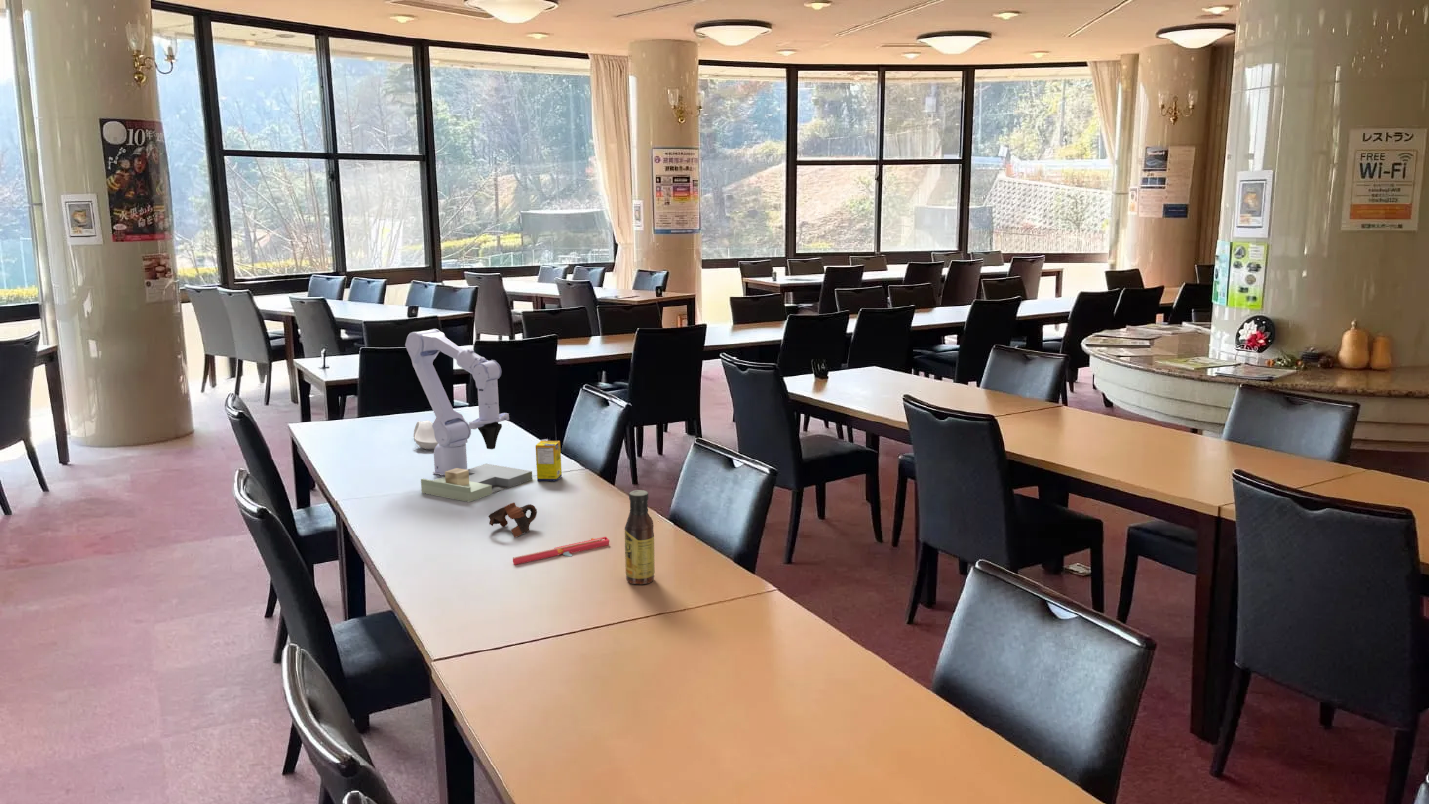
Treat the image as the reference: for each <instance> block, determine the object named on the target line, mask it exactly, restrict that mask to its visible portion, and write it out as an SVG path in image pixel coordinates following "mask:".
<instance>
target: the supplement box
mask: <svg viewBox="0 0 1429 804" xmlns="http://www.w3.org/2000/svg"><path fill="white" fill-rule="evenodd" d="M561 454H562V453H561V441H560V440H541V441H539V442H537V444H536V445H535V460H536V461H535V462H536V477H537V478H536V480H537V482H558V481H559V480H560V478H562V475H563V474H562V455H561Z"/></svg>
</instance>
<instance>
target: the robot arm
mask: <svg viewBox="0 0 1429 804" xmlns="http://www.w3.org/2000/svg"><path fill="white" fill-rule="evenodd" d="M404 346H405V348H406V351H407V352H408V355H409V357H410V359H411V363H412V367H413V368H414V370H415V374H416V376H417V378H418V381H419V382H420V385H421V387H422V389H423V391H424V394H425V395H426V398H427V400H428V402H429V405H430V406H431V409H432V411H433V413H434V416H435V418H434V420H433V422H432V423H433V425H432V427H433V429H434V435H435V439H436V441H437V443H438V445H437V446H436V447H435V449H433V461H434V462H433V463H434V464H433V465H434V471H433V472H432V474H434V475H441V476H445V471H449V470H452V469H455V468H460V469H466V470H468V469H469V468H468V460H467V458H468V457H467V443H468V439H470V437H471V435H472V430H477V429H478V431H479V432H480V434H481V436H482V438H483V441H484V443H485V447H486V449H487V450H495V449H496V447H497V446H496V445H497V440H498V436H499V434H500V432H501V430H502V427H503V425H502V423H500V422H504V421H510V415H509V414H510V413H507V412H502V413H500V406H499V404H500V403H499V387H498V386H499V385H498V379H500V377H501V376H502V368H501V365H500V364H499V363H498V362H497V360H495V359H491V360H488V359H487V358H485V357H484V356H481V355H479V354H478V353H476V352H475V350H474V349H473V348H465V349H463V348H461V347H459V345H457V344H456V343H454V342H453V341H452V340H450V339H448V338H447V336H446V335H445V333H444V332H443V331H440V330H439V329H437V328H431V329H429V330H421V331H412V332H409V334H408V335H407V337H406V340H405V344H404ZM439 353H443V354H444V355H447V356H448V357H450V358H452V359H454V360H455V361H456V365H457V366H458V367H460V368H461V369H462V370H464V371H465V372H468V373H470V374H471V375H472V378H473V380H474V382H475V387H476V389H477V399H478V400H477V403H478V418H476V419H474V420H472V421H469V422H468V421H466V420H465V418H464V416H463V414H462V413H460V412H457V411H456V410H454V408H453V406H452V404H451V402H450V400H449V397H448V395H447V392H446V390H445V389H444V387H443V384H442V381H441V379H440V377H439V375H438V372H437V371H436V368H435V366H434V365H433V362H434V360H435V359H437V356H438V355H439Z"/></svg>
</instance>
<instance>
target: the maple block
mask: <svg viewBox="0 0 1429 804" xmlns="http://www.w3.org/2000/svg"><path fill="white" fill-rule="evenodd" d="M444 477H445V480H446V483H450V484H456V485H461V486H464V485H467V484H469V470H466V469H460V468H455V469H452V470H449V471H445V475H444Z"/></svg>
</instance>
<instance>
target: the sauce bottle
mask: <svg viewBox="0 0 1429 804" xmlns="http://www.w3.org/2000/svg"><path fill="white" fill-rule="evenodd" d="M628 499H629V513H628V518H627V520H626V524H625V526H624V555H625V556H624V558H625V561H624V562H625V564H624V565H625V566H624V567H625V574H626V576H625V579H626V581H627V582H629V583H630V584H631V585H647V584H650V583H652V582H653V581H654V578H655V574H656V573H655V532H654V520H653V519H652V517H651V516H650V514H649V508H648V507H649V506H648V504H649V503H648V501H649V492H648V491H647V490H644V489H636V490H632V491H630V492H629V494H628Z"/></svg>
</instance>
